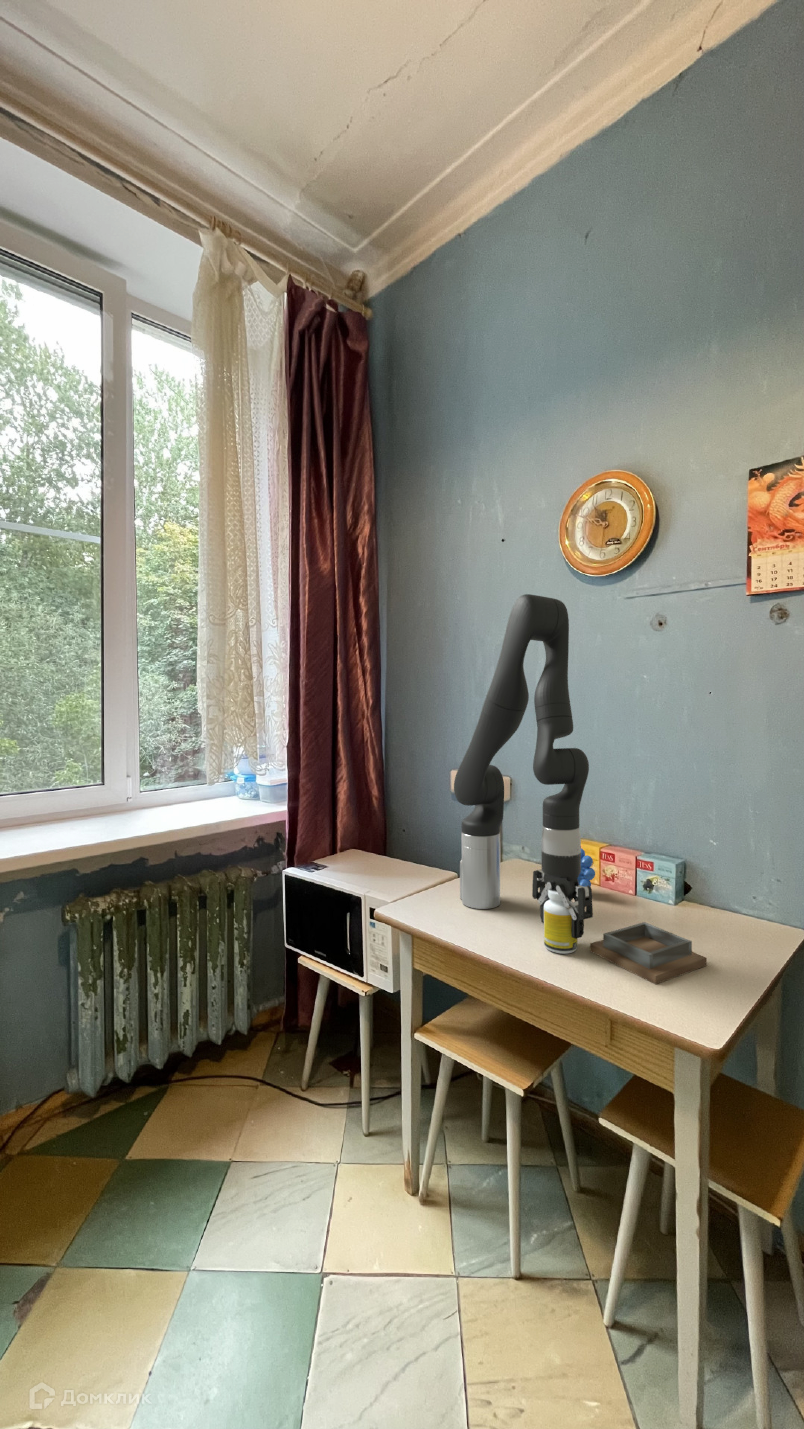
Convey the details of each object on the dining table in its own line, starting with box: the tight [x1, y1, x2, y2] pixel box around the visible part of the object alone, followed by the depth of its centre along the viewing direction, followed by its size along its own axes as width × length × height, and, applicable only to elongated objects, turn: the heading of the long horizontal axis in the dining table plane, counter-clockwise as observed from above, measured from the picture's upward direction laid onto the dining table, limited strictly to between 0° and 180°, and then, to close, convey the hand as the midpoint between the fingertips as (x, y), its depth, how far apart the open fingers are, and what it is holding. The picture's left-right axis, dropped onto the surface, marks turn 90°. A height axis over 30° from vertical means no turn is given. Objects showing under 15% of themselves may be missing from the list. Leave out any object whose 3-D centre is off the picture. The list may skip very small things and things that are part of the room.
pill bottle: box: [543, 890, 578, 955], centre depth 117 cm, size 6×6×12 cm
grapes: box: [578, 847, 596, 888], centre depth 148 cm, size 12×7×12 cm, turn 30°
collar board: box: [589, 921, 708, 985], centre depth 112 cm, size 15×14×4 cm
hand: (561, 929), depth 117 cm, fingers open, 8 cm apart
